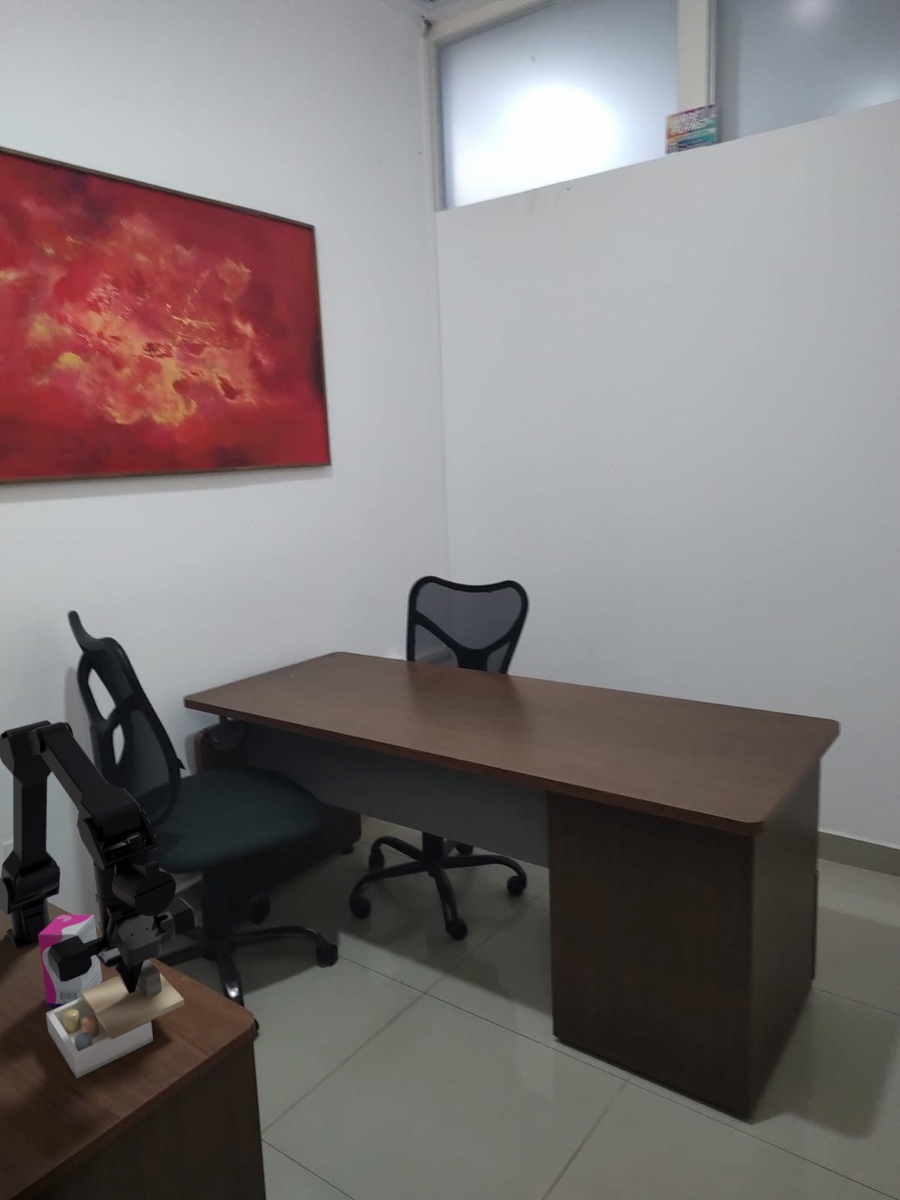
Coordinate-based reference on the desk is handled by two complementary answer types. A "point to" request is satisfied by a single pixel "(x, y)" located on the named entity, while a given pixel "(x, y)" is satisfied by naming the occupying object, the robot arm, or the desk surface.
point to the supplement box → (61, 931)
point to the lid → (131, 1001)
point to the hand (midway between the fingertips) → (131, 991)
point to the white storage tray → (90, 1037)
